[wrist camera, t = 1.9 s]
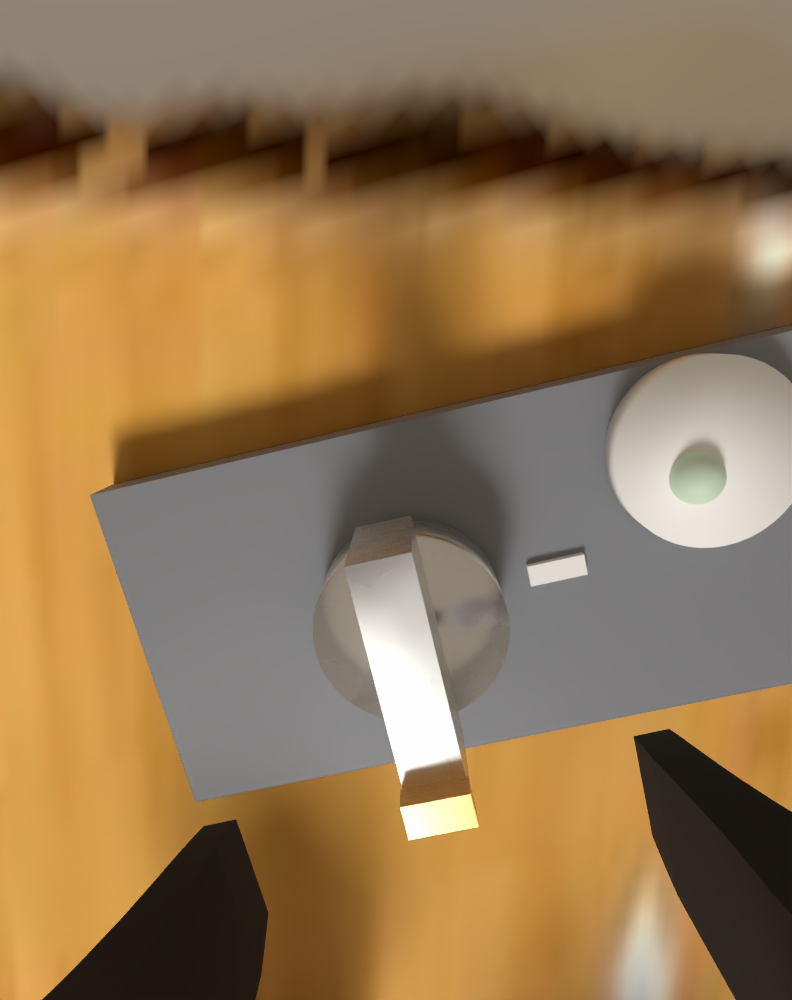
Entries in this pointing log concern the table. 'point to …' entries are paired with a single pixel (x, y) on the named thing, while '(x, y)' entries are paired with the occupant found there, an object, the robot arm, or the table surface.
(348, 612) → the knob
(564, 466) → the base
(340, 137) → the table surface
